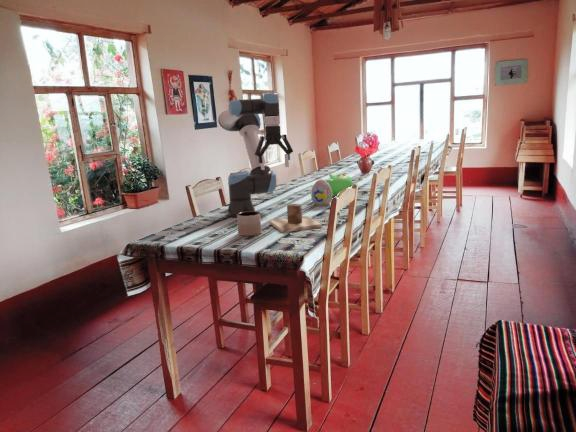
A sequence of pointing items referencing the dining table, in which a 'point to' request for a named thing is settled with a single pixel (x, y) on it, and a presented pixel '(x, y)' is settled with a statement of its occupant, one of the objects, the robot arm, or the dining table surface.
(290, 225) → the square base plate
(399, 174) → the dining table surface
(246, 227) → the planter
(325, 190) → the decorative egg
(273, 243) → the dining table surface
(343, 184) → the toy bird
